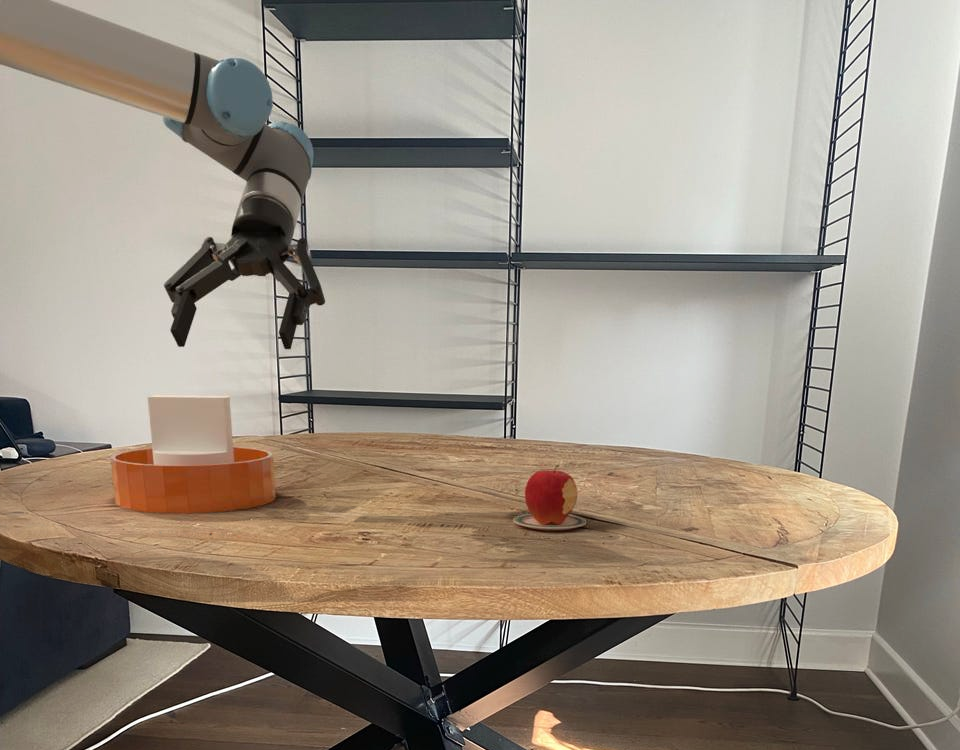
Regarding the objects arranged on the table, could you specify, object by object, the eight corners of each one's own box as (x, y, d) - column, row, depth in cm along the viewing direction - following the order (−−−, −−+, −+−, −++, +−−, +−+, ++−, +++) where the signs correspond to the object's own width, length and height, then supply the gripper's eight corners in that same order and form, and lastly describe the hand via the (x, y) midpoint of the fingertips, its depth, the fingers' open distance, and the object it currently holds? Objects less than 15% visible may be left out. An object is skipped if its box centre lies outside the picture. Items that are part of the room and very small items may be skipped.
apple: (582, 519, 104) (585, 461, 102) (589, 533, 97) (592, 471, 94) (512, 517, 104) (514, 460, 102) (514, 532, 97) (516, 470, 94)
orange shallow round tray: (84, 516, 101) (77, 461, 99) (167, 490, 118) (162, 443, 116) (234, 524, 98) (230, 468, 96) (298, 497, 115) (296, 449, 113)
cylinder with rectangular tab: (243, 494, 112) (236, 394, 108) (228, 508, 104) (220, 399, 100) (168, 494, 112) (159, 393, 108) (148, 507, 103) (137, 398, 99)
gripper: (364, 244, 122) (337, 364, 112) (186, 242, 124) (145, 359, 115) (353, 194, 115) (323, 318, 106) (165, 194, 118) (120, 314, 108)
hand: (230, 340), depth 110 cm, fingers open, 13 cm apart
